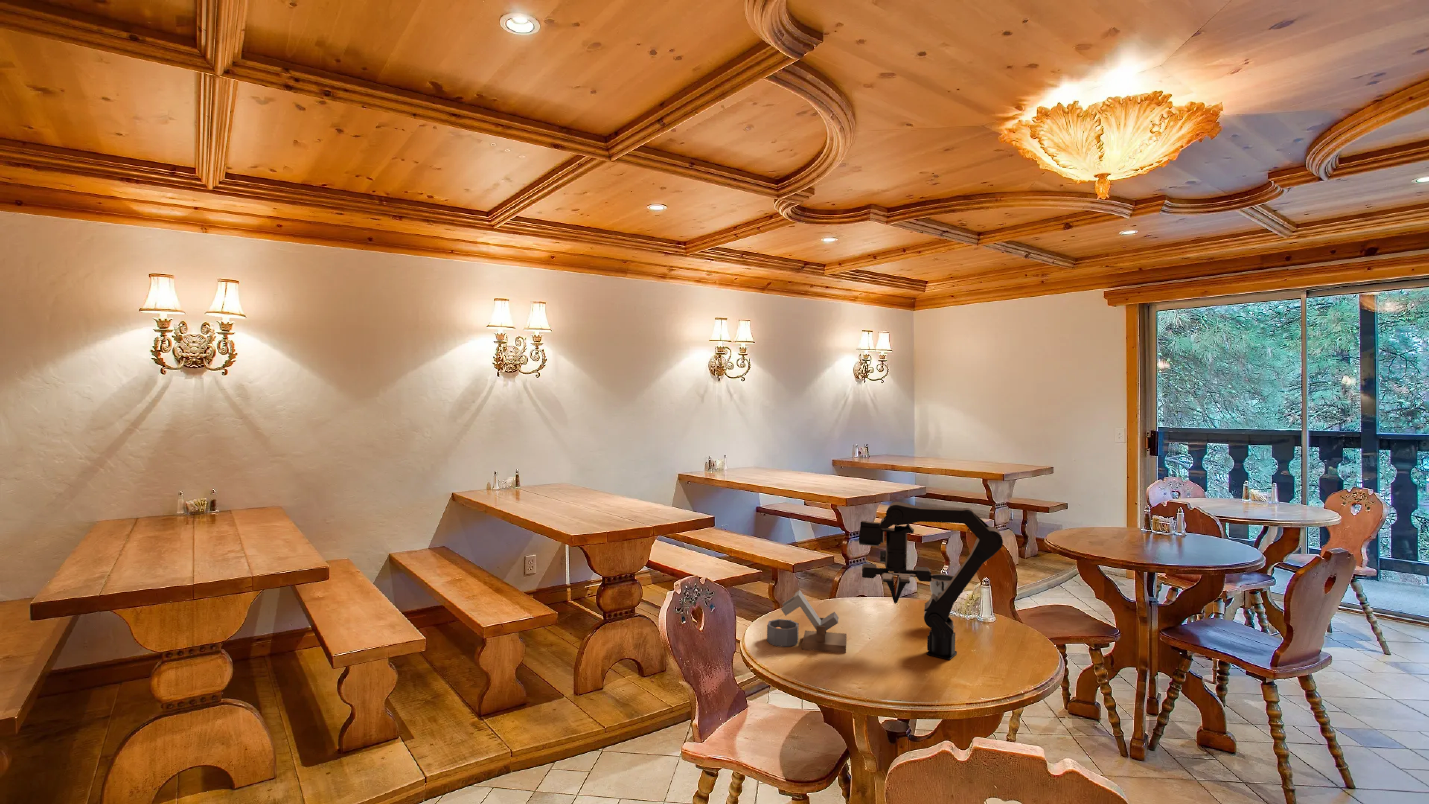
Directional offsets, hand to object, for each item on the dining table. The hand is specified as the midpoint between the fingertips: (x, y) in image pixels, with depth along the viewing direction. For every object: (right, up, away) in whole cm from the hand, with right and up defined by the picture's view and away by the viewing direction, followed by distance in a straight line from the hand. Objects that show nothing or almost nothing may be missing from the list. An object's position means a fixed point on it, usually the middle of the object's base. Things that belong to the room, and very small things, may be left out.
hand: (895, 602), depth 201 cm
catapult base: (-20, -13, +3) cm, 24 cm away
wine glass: (+20, -13, +20) cm, 31 cm away
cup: (-31, -13, +5) cm, 34 cm away
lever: (-20, -9, +3) cm, 22 cm away
